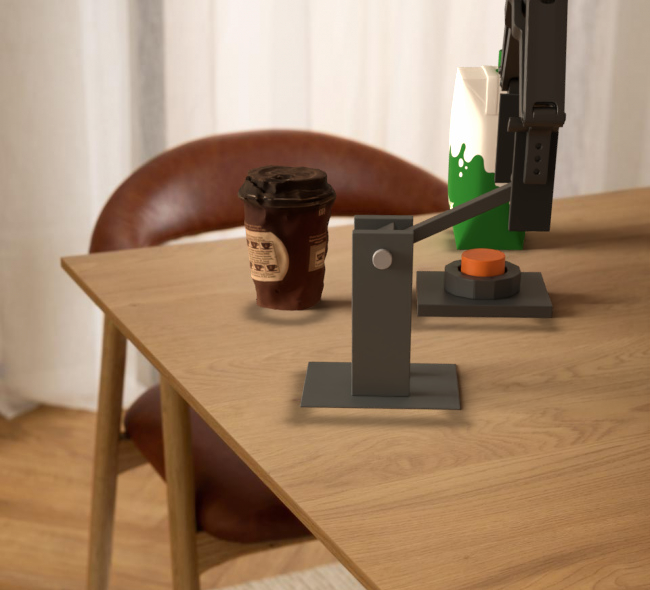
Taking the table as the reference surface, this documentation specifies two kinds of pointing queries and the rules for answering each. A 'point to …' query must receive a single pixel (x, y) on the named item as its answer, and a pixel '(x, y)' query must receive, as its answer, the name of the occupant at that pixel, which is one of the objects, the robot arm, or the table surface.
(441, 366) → the upright post stand
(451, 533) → the table surface
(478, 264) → the button
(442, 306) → the control block
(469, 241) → the milk carton
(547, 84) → the robot arm
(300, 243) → the coffee cup
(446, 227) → the switch lever
